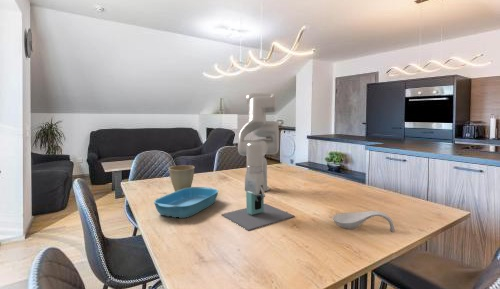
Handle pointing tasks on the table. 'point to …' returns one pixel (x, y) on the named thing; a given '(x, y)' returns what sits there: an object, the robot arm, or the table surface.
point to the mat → (257, 217)
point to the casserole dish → (186, 201)
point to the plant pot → (181, 176)
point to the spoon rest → (359, 219)
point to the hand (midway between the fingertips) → (255, 207)
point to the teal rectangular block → (253, 203)
